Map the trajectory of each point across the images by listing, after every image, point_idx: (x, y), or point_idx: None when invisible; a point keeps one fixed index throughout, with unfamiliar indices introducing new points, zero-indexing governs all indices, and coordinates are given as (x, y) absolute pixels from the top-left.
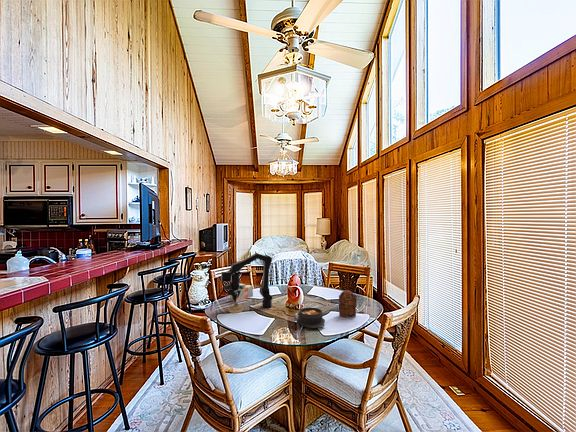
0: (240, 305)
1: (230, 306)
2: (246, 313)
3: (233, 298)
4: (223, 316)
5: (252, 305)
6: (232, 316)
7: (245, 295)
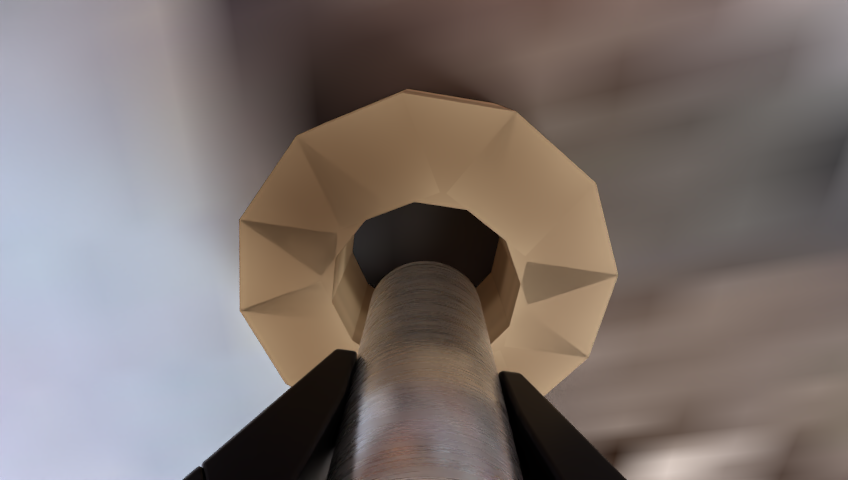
0: None
1: (381, 158)
2: None
3: (222, 468)
4: (9, 52)
5: (713, 467)
6: (74, 249)
7: None
